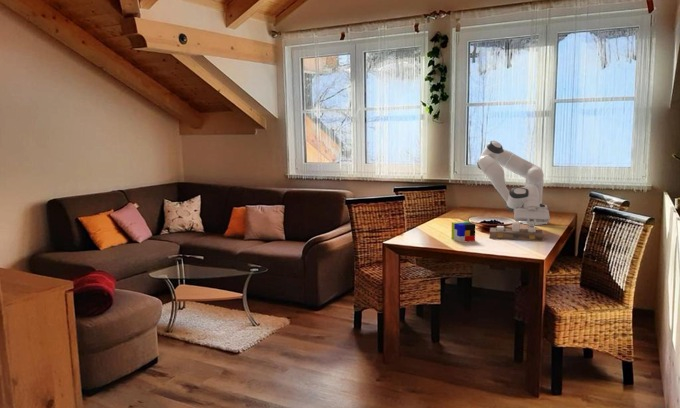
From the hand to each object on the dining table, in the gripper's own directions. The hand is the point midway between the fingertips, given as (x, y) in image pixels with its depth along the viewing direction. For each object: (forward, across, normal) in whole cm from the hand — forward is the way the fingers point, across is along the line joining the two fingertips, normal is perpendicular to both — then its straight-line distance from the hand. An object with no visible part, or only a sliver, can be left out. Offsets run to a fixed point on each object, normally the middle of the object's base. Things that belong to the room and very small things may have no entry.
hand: (531, 226), depth 307 cm
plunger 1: (+5, -18, +5) cm, 19 cm away
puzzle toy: (+15, -39, -5) cm, 42 cm away
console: (+5, -9, +5) cm, 11 cm away
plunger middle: (+3, -9, +3) cm, 10 cm away
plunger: (+5, 0, +5) cm, 7 cm away
